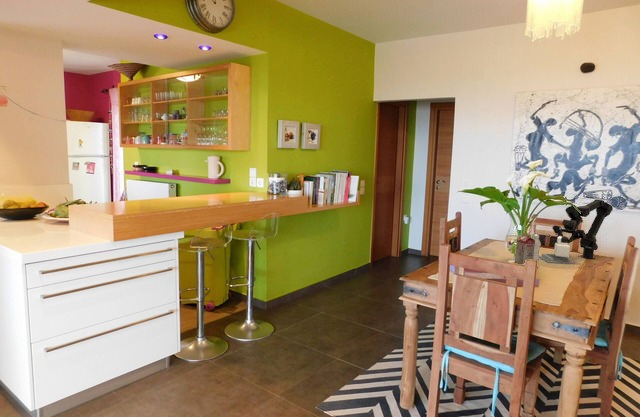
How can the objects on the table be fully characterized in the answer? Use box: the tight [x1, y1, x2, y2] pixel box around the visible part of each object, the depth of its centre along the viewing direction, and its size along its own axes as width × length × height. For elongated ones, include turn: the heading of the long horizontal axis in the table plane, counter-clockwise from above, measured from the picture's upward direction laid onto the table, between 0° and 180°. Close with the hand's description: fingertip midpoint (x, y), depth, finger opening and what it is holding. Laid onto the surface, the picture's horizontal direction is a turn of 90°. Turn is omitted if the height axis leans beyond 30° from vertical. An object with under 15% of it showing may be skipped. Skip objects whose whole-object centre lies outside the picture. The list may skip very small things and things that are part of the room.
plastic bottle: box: [531, 233, 542, 266], centre depth 254 cm, size 6×7×20 cm
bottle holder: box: [539, 253, 575, 265], centre depth 272 cm, size 14×16×3 cm
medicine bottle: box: [553, 235, 571, 258], centre depth 267 cm, size 7×7×12 cm
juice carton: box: [514, 232, 535, 264], centre depth 244 cm, size 7×7×22 cm
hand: (562, 241), depth 267 cm, fingers closed on medicine bottle, 6 cm apart
